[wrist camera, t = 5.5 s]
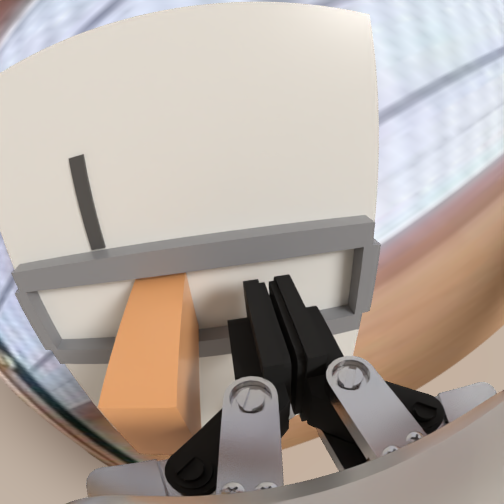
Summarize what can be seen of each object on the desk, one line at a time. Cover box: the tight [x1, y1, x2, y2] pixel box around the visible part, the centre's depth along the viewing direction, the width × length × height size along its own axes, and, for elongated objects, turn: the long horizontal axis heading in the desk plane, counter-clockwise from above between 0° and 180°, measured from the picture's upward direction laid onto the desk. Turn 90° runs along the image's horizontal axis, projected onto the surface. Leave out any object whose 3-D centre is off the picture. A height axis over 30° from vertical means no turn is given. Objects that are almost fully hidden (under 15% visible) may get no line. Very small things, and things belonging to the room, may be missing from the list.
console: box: [0, 2, 381, 429], centre depth 12 cm, size 16×22×4 cm
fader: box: [98, 272, 201, 455], centre depth 9 cm, size 2×3×6 cm
